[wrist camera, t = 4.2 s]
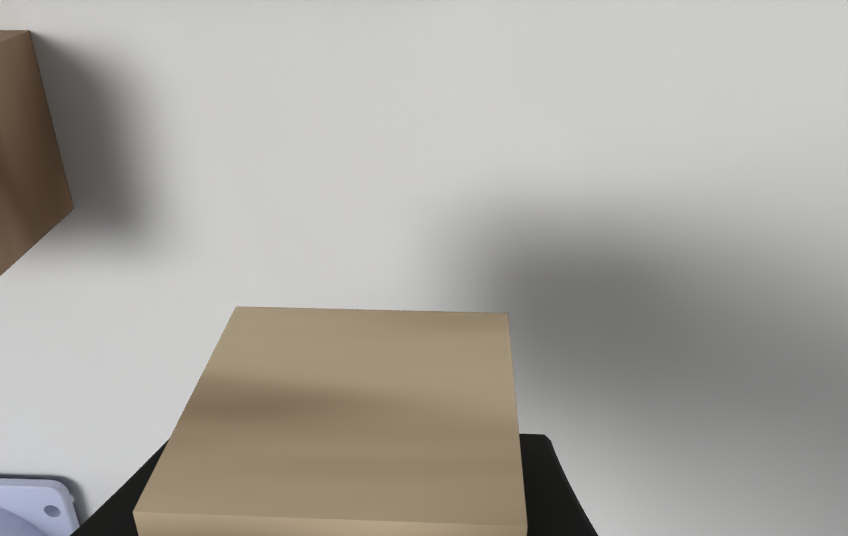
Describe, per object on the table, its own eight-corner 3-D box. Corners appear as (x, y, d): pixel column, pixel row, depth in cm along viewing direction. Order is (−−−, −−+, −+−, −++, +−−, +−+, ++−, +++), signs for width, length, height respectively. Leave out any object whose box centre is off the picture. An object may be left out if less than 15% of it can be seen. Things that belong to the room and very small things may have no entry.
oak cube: (495, 511, 15) (506, 755, 11) (263, 504, 15) (190, 740, 11) (507, 313, 12) (527, 525, 9) (236, 306, 13) (133, 511, 9)
